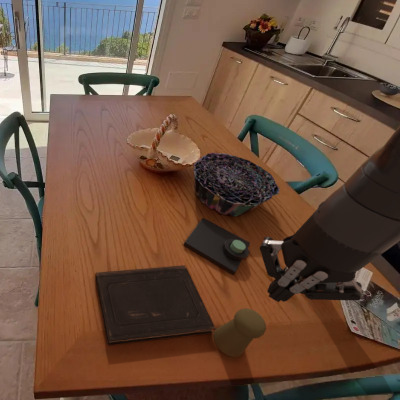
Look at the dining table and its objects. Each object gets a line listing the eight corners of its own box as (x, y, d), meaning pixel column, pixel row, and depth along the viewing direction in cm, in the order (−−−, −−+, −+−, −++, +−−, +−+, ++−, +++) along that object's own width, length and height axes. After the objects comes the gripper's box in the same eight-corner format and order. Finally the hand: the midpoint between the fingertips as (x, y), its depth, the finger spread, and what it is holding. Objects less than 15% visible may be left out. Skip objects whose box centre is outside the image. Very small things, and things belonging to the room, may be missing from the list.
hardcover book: (211, 333, 58) (215, 328, 56) (107, 345, 55) (109, 341, 53) (182, 269, 69) (184, 263, 68) (94, 276, 66) (95, 271, 65)
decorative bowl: (272, 199, 94) (289, 176, 88) (248, 238, 78) (267, 213, 72) (203, 167, 107) (214, 145, 100) (170, 195, 90) (181, 170, 84)
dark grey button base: (250, 246, 76) (255, 240, 74) (235, 276, 69) (240, 270, 66) (201, 220, 83) (204, 213, 81) (183, 245, 75) (186, 238, 73)
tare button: (244, 248, 72) (247, 244, 71) (240, 255, 70) (243, 251, 69) (232, 241, 74) (235, 237, 72) (228, 248, 72) (231, 244, 70)
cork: (245, 361, 54) (275, 341, 46) (213, 350, 55) (238, 329, 48) (242, 332, 58) (269, 309, 51) (213, 322, 59) (235, 299, 52)
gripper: (284, 214, 34) (226, 285, 45) (426, 279, 27) (316, 342, 39) (297, 187, 38) (240, 258, 50) (422, 238, 32) (324, 306, 43)
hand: (274, 295), depth 44 cm, fingers closed
